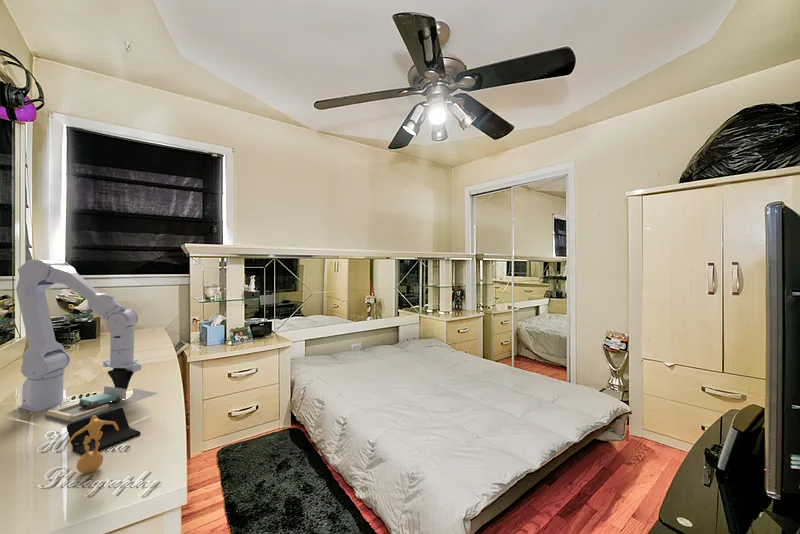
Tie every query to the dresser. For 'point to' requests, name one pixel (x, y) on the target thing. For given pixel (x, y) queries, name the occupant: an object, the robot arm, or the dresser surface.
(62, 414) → the dock
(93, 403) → the grey teal-panelled part
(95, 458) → the figurine
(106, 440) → the handheld gaming console
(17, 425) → the dresser surface
